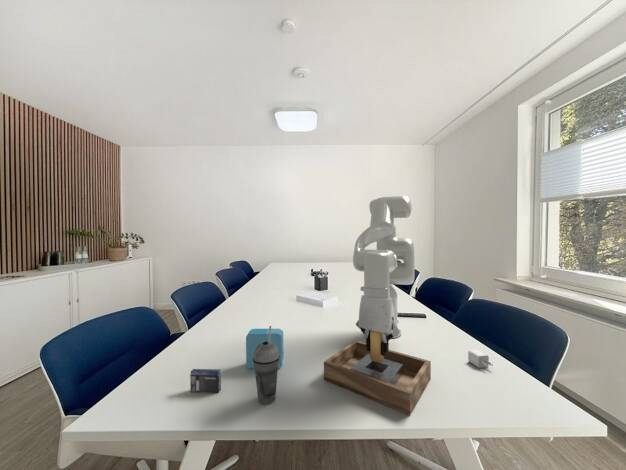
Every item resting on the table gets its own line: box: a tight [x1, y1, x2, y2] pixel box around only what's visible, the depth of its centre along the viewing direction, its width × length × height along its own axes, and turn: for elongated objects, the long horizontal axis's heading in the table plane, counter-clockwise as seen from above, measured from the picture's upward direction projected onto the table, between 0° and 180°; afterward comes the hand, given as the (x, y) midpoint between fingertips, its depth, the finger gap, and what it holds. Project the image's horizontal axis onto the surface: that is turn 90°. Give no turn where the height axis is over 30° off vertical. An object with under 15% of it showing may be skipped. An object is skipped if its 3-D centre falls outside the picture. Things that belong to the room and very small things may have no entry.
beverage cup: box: [253, 325, 280, 406], centre depth 71 cm, size 7×7×20 cm
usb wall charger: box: [467, 349, 494, 369], centre depth 87 cm, size 4×7×4 cm, turn 9°
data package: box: [245, 328, 285, 370], centre depth 89 cm, size 12×4×12 cm, turn 89°
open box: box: [323, 339, 432, 416], centre depth 80 cm, size 20×26×6 cm
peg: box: [370, 330, 384, 362], centre depth 80 cm, size 4×4×10 cm
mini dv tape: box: [189, 368, 222, 394], centre depth 75 cm, size 8×2×6 cm, turn 87°
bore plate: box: [350, 354, 403, 385], centre depth 80 cm, size 12×12×3 cm
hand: (377, 351), depth 80 cm, fingers closed on peg, 4 cm apart
